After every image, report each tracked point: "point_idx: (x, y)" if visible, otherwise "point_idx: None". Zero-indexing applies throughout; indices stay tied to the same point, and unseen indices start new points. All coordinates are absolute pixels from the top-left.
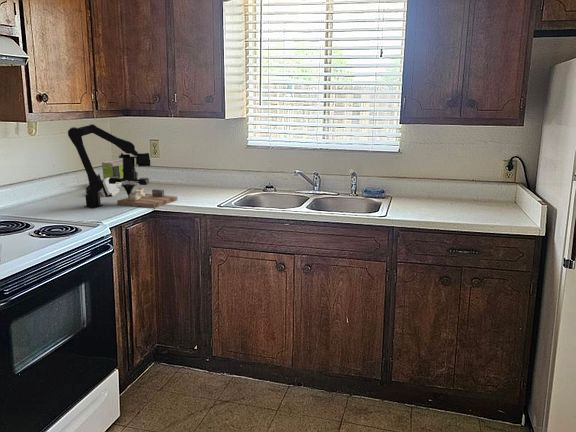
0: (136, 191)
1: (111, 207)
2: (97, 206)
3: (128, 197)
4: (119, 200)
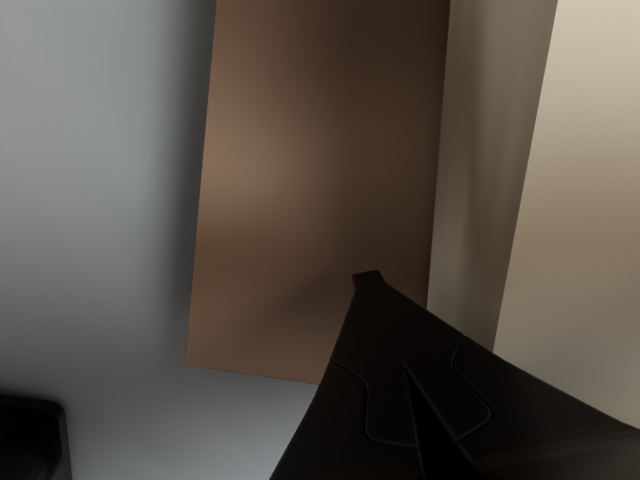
0: (603, 258)
1: (227, 443)
2: (66, 475)
3: (218, 45)
4: (215, 349)
